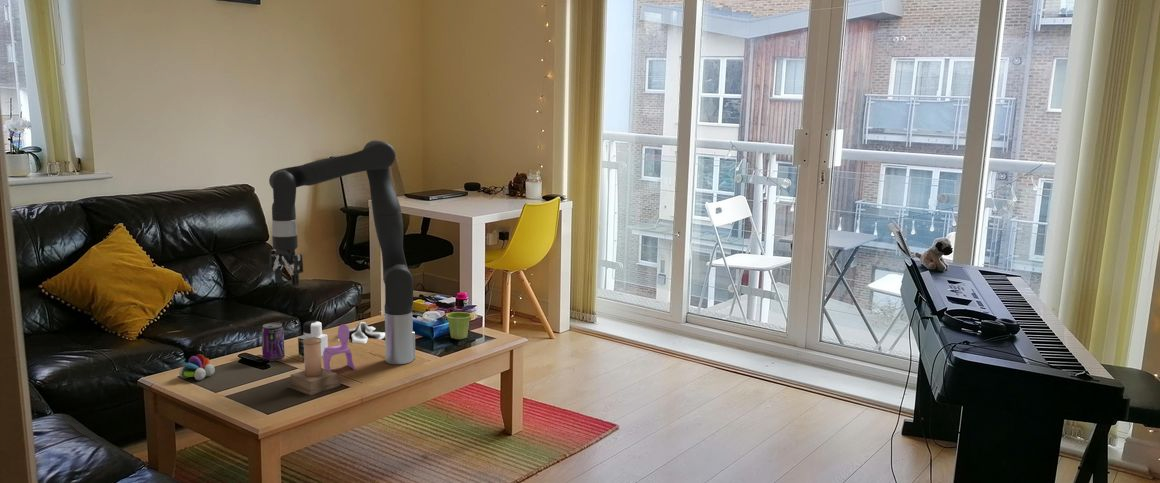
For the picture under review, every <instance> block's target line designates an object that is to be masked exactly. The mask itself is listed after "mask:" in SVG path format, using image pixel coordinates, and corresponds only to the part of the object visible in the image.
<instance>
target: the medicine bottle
mask: <svg viewBox="0 0 1160 483" xmlns="http://www.w3.org/2000/svg"><path fill="white" fill-rule="evenodd" d="M322 325H323V324H322V322H320V321H318V320H308V321H305V322H304V323H303V324H302V326H303V330H302V331H303V334H302V335H301V336H298V337H297V342H298V357H299V358H303V359H304V344H303V339H306V338H312V337H317V338H321V358H323V352H324V348H326V347H329V345H328V344H329V339H328V334H326V333H323V331H322V330H323V329H322V328H323V326H322Z"/></svg>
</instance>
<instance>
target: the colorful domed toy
mask: <svg viewBox="0 0 1160 483" xmlns="http://www.w3.org/2000/svg"><path fill="white" fill-rule="evenodd" d="M215 371H216V369H215V366H214V365H213V364H212V363H211V360H210V359H209V357H208V358H207V357H205V355H203V354H202V353H201V354H196V355H192V356H190V358H188V362H185V364H184V366H182V367H181V368H180V369H179V372H178V373H179V376H180V378H182V379H183V380H184V379H188V378H193V377H194V379H195V380H196V381H202V380H204V379H205V378H206V377H207V378H208V377H211V376H212V375H214V374H215Z"/></svg>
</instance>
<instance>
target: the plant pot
mask: <svg viewBox="0 0 1160 483" xmlns="http://www.w3.org/2000/svg"><path fill="white" fill-rule="evenodd" d="M445 316H446V318H447V322H448V328H449V334H450V338H451V339H455V340H463V339H467V338H468V332H469V325H470V320H471V317H472V314H471V313H469V312H465V311H464V312H463V311H456V312H449V313H447V314H446V315H445Z"/></svg>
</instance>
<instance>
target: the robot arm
mask: <svg viewBox="0 0 1160 483" xmlns="http://www.w3.org/2000/svg"><path fill="white" fill-rule="evenodd" d="M396 157H397V156H396V150H395V149H394V147H393V146H392V145H391V144H389V143H388V142H386V141H382V140H377V139H376V140H370V141H368V142H367V143H366V144H365V145H364V147H363V149H362V150H359V151H355V152H353V153H349V154H343V155H338V156H332V157H328V158H327V157H326V158H322V159H318V160H313V161H311V162H306V163H303V164H301V165H296V166H291V167H290V166H289V167H285V168H284V167H283V168H281V169H277V170H274V171H273V172H272V173H271V174H270V176H269V180H268V182H269V186H270V188H271V189H272V195H273V197H272V199H273V202H272V205H271V216H272V217H271V218H272V219H271V220H272V221H271V235H272V236H271V238H272V239H271V240H272V242H271V243H272V249H270V250H269V268H270V269H272V271H274V282H275V283H281V282H283V270H282V269H283V268H284V267H286V269H287V270H288V271H289V273H290V284H291V287H298V286H299V285H300V278H299V277H300V274H302V273H304V262H303V254H302V253H298V254H296V249H297V248H299V245H298V244H299V243H298V242H299V241H298V225H297V219H296V218H297V216H296V215H297V214H296V213H297V212H296V199H297V198H296V197H297V188H299V187H303V186H313V185H318V184H322V183H325V182H328V181H332V180H335V179H338V178H341V177H344V176H348V175H351V174H355V173H360V172H366V175H367V179H368V183H369V184H368V185H369V191H370V202H371V207H372V216H373V217H372V218H373V223H374V227H375V233H376V237H377V240H378V244H379V247H380V251H381V258H382V260H381V261H382V280H383V283H384V291H385V292H384V298H385V301H384V332H385V337H384V340H385V342H384V343H385V362H386V363H387V364H390V365H405V364H409V363H411V362H413V361H414V360H415V359H416V333H415V331H414V329H413V328H414V327H413V325H414V324H413V321H414V320H413V305H414V279H413V278H414V277H413V275H412V273H411V271H410V270H409V268H408V264H407V261H406V256H405V251H404V220H403V215H402V208H401V204H400V202H399V199H398V196H397V194H396V191H395V188H394V185H393V183H392V179H391V171H390V170H391V168H390V167H391V166H392V165H394V162H395V161H396Z"/></svg>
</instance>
